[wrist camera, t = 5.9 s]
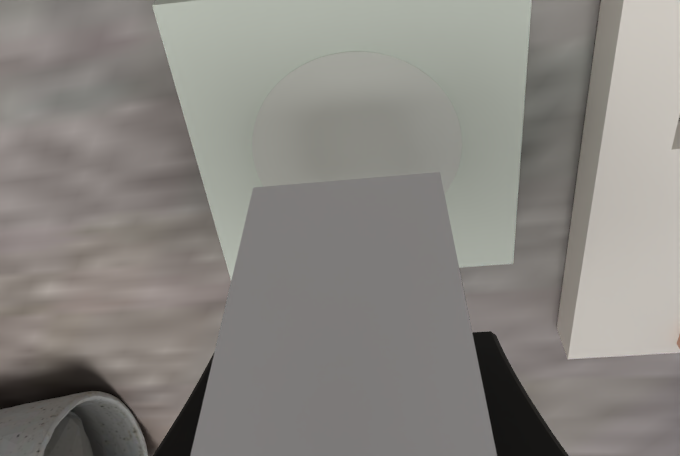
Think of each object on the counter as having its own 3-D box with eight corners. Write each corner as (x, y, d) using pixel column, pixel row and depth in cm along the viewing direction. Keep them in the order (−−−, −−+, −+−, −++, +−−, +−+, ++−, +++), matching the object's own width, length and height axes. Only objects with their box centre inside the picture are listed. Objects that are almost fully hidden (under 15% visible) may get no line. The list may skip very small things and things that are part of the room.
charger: (442, 322, 16) (489, 629, 10) (286, 332, 16) (251, 635, 11) (439, 171, 13) (500, 476, 8) (253, 187, 14) (181, 490, 8)
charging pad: (509, 252, 22) (513, 265, 22) (234, 272, 23) (231, 285, 23) (529, -43, 16) (534, -36, 16) (157, -2, 17) (151, 6, 17)
